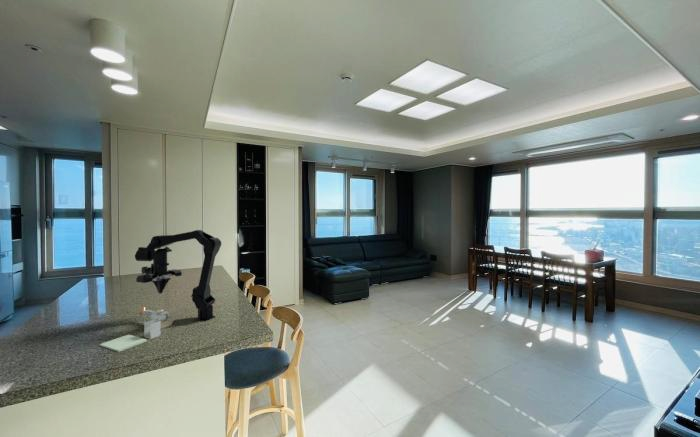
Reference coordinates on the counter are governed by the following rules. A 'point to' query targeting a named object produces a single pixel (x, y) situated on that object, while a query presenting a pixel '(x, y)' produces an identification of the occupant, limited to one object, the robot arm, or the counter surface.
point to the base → (166, 322)
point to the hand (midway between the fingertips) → (160, 293)
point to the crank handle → (155, 314)
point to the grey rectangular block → (152, 329)
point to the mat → (123, 343)
